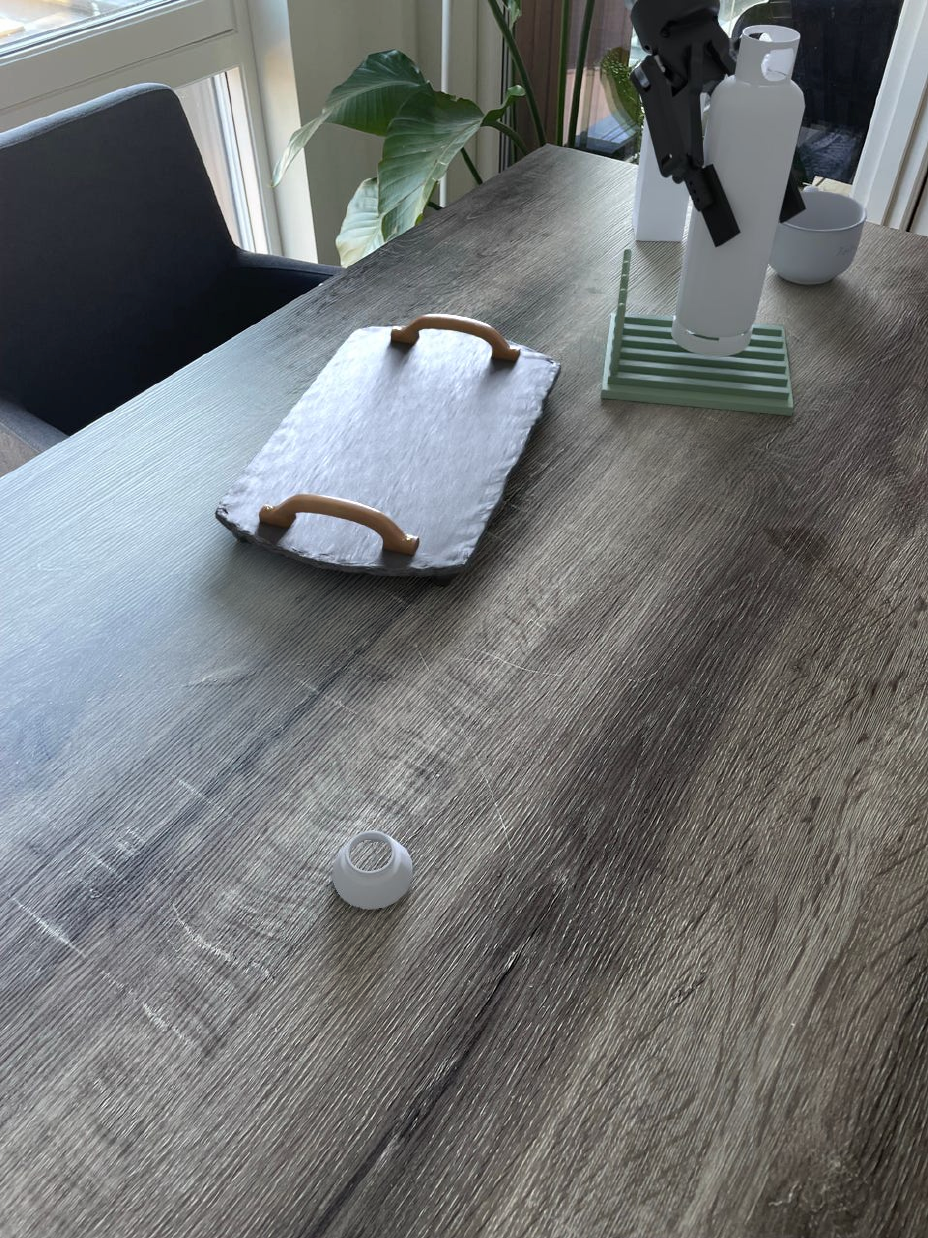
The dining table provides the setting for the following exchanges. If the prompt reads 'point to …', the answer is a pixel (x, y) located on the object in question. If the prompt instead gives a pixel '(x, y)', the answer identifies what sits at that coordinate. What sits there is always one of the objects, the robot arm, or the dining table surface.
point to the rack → (692, 365)
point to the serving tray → (396, 451)
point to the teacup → (818, 238)
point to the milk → (658, 197)
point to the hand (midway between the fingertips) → (761, 227)
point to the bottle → (741, 193)
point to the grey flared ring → (372, 875)
